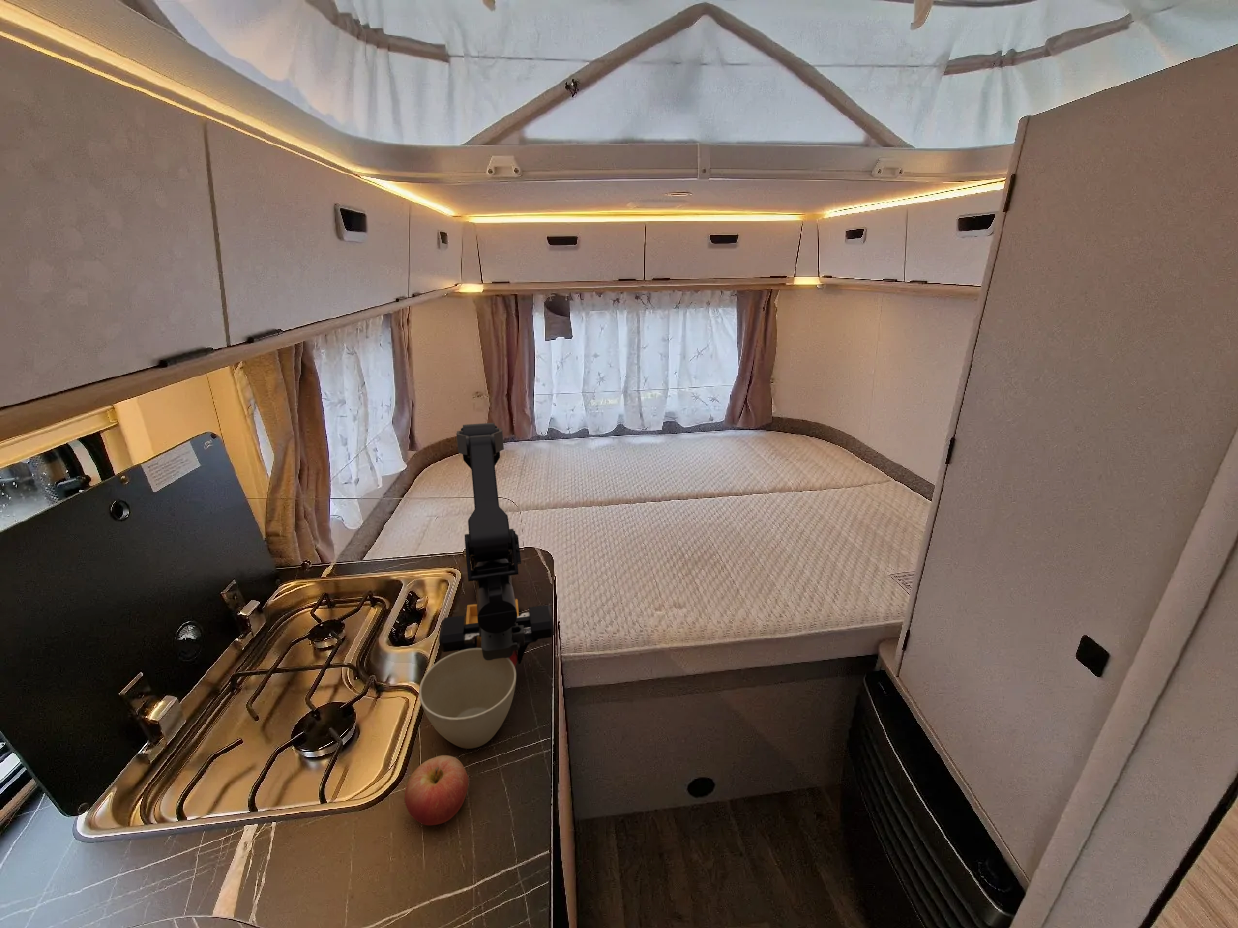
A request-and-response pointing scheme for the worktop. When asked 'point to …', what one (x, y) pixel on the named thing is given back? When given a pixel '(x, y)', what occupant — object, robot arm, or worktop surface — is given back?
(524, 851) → the worktop surface
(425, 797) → the apple
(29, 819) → the worktop surface
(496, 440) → the robot arm
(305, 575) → the worktop surface
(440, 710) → the flower pot
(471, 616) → the amber tray
